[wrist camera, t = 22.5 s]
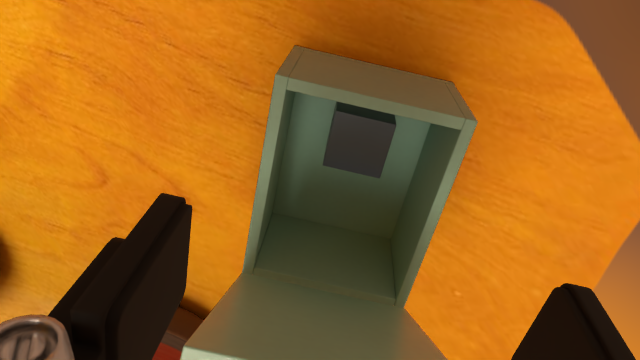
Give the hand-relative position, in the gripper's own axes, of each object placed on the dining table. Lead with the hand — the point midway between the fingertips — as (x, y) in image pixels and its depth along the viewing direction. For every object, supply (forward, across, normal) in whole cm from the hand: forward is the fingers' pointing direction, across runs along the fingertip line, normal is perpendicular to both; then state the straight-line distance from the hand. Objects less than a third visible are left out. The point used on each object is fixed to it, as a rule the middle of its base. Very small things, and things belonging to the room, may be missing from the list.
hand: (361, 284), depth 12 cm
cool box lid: (+10, -1, +12) cm, 16 cm away
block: (+26, -1, +6) cm, 26 cm away
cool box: (+26, -1, +9) cm, 28 cm away
